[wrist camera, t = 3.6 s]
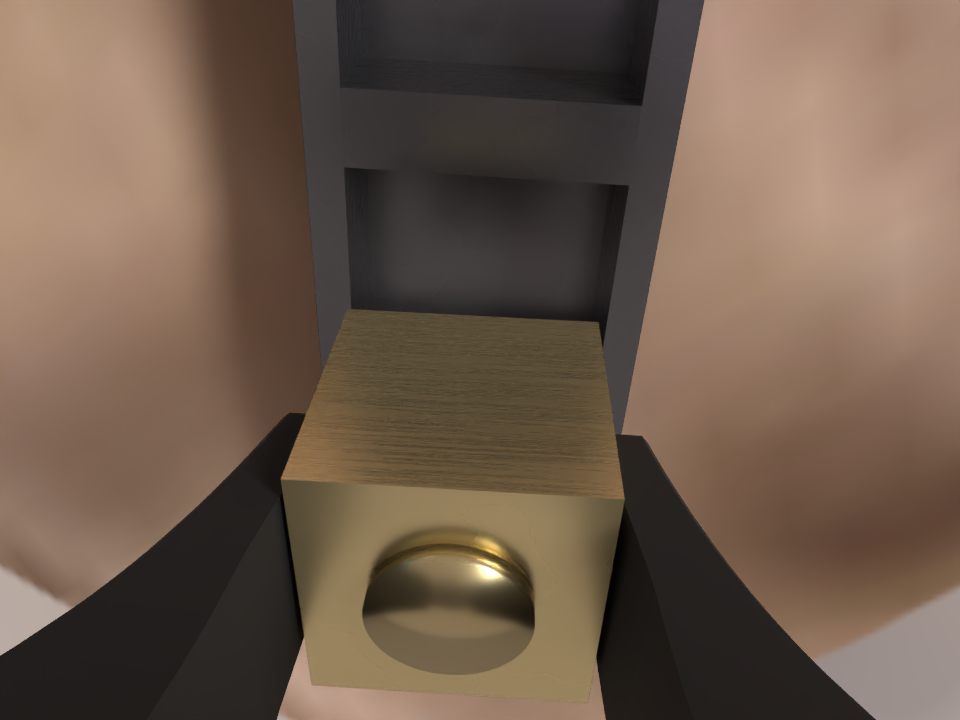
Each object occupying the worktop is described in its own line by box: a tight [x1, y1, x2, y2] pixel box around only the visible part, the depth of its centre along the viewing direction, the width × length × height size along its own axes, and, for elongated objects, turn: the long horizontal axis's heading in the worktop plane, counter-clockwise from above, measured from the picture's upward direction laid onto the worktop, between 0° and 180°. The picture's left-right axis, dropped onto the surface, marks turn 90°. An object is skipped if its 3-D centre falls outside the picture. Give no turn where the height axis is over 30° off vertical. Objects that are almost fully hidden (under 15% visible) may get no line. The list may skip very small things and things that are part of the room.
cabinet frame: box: [292, 0, 704, 435], centre depth 18 cm, size 7×22×3 cm, turn 177°
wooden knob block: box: [281, 309, 625, 703], centre depth 12 cm, size 4×4×4 cm
